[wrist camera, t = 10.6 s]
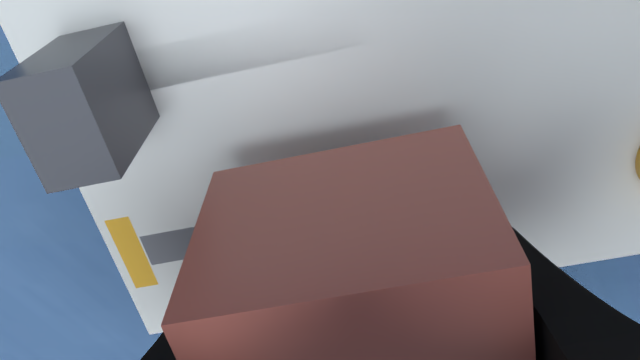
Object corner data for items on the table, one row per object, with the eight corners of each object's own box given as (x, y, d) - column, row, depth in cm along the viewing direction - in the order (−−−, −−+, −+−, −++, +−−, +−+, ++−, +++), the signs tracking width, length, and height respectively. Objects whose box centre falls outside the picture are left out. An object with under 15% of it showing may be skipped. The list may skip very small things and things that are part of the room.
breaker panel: (811, -240, 12) (1041, -284, 8) (743, 209, 17) (863, 311, 13) (-1, -41, 14) (-124, 0, 10) (159, 308, 19) (117, 422, 15)
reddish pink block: (460, 124, 13) (530, 264, 8) (481, 316, 16) (544, 498, 11) (213, 172, 13) (160, 325, 9) (274, 348, 16) (256, 533, 12)
